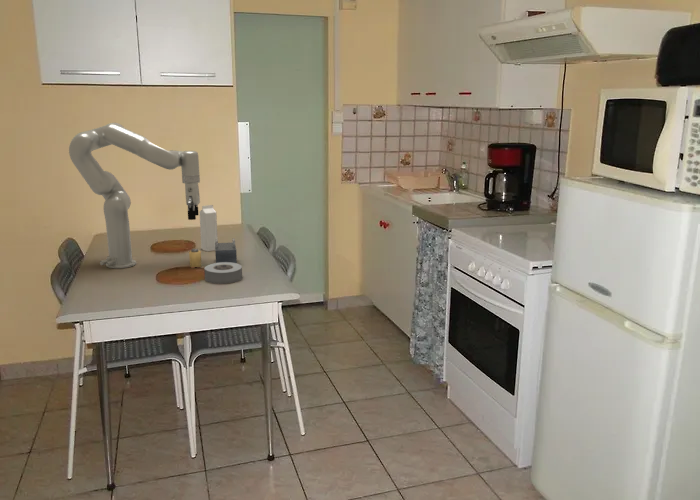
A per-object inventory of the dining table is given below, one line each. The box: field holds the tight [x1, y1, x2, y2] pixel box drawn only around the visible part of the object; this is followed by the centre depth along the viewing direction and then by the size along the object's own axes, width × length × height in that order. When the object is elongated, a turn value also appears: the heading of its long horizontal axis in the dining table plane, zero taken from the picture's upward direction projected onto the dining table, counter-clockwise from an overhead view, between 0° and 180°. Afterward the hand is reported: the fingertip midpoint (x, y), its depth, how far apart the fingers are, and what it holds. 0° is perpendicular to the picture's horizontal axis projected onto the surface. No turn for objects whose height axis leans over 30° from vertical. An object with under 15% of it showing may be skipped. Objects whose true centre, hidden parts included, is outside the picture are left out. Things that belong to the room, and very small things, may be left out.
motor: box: [214, 238, 238, 264], centre depth 271 cm, size 17×9×11 cm, turn 13°
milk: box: [199, 204, 219, 252], centre depth 293 cm, size 6×6×22 cm
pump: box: [188, 248, 202, 268], centre depth 265 cm, size 5×5×8 cm
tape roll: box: [204, 262, 243, 285], centre depth 249 cm, size 15×15×5 cm
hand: (193, 217), depth 268 cm, fingers open, 9 cm apart
